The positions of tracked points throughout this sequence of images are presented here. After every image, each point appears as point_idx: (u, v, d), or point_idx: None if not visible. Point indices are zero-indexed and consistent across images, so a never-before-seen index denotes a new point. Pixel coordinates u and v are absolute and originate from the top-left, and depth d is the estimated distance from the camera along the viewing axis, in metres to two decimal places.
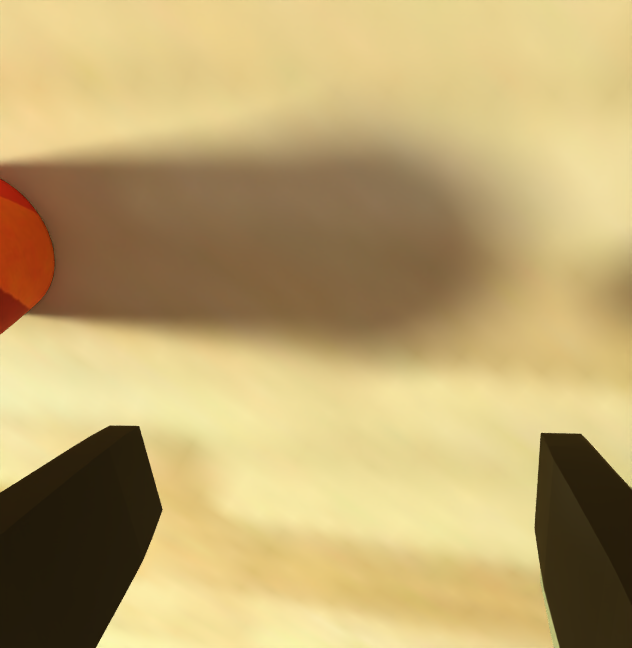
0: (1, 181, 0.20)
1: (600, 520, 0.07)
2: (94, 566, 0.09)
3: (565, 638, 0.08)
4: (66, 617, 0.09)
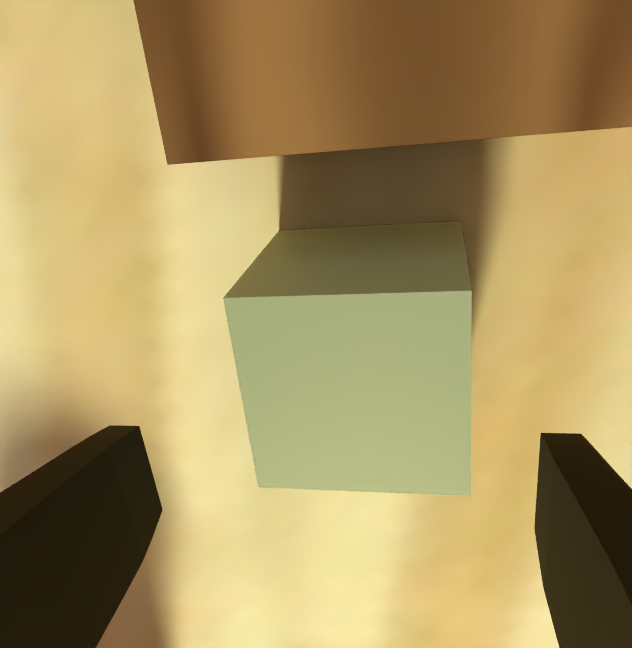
0: None
1: (600, 520, 0.07)
2: (94, 566, 0.09)
3: (565, 638, 0.08)
4: (66, 616, 0.09)
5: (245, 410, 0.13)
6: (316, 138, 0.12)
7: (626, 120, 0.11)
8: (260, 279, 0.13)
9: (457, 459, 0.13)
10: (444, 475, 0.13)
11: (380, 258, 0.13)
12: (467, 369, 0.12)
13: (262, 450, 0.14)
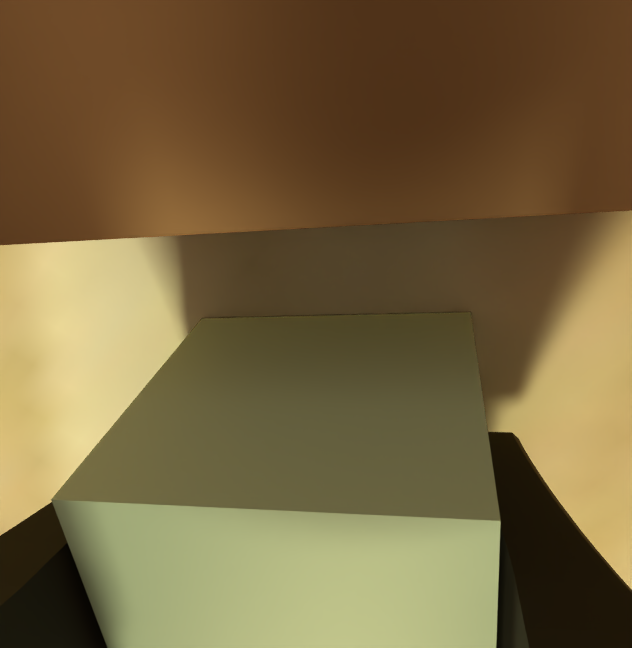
0: None
1: (509, 516, 0.07)
2: None
3: None
4: None
5: None
6: (221, 209, 0.07)
7: None
8: (132, 446, 0.08)
9: None
10: None
11: (339, 400, 0.08)
12: (489, 638, 0.06)
13: None
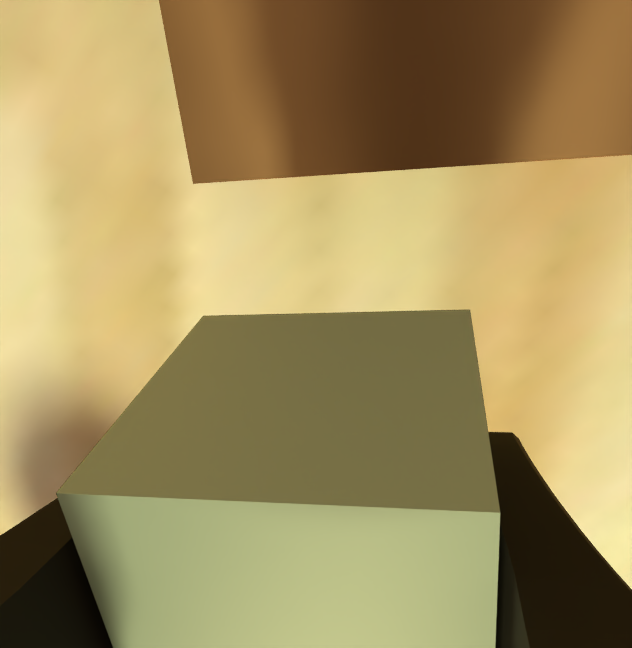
0: None
1: (509, 516, 0.07)
2: None
3: None
4: None
5: None
6: (324, 162, 0.14)
7: (593, 151, 0.13)
8: (135, 441, 0.08)
9: None
10: None
11: (341, 396, 0.08)
12: (488, 629, 0.07)
13: None
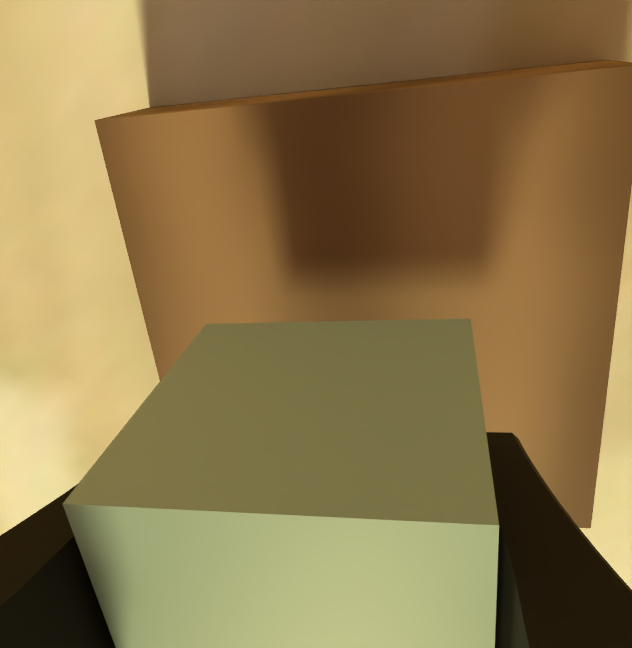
0: None
1: (509, 516, 0.07)
2: None
3: None
4: None
5: None
6: None
7: None
8: (140, 451, 0.08)
9: None
10: None
11: (342, 406, 0.08)
12: (488, 638, 0.07)
13: None
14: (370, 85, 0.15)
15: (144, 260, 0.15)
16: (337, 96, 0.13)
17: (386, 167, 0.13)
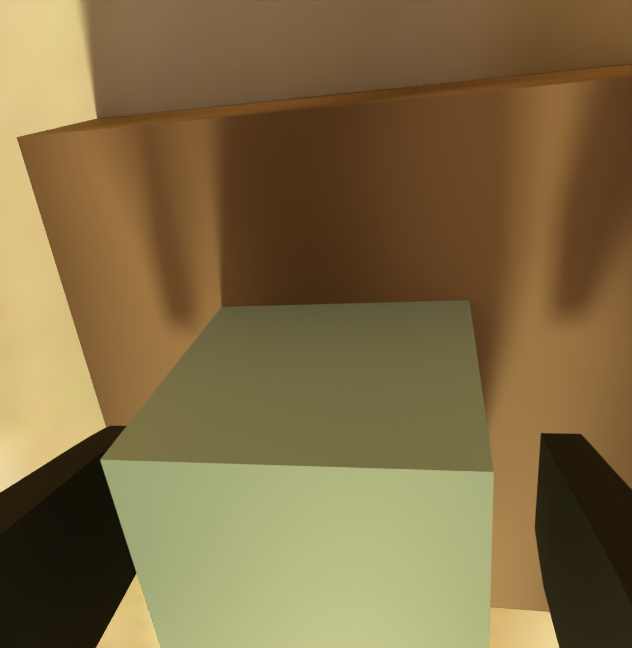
0: None
1: (600, 520, 0.07)
2: (94, 566, 0.09)
3: (565, 638, 0.08)
4: (66, 616, 0.09)
5: (150, 605, 0.09)
6: None
7: (505, 606, 0.14)
8: (167, 416, 0.08)
9: None
10: None
11: (351, 377, 0.09)
12: (484, 579, 0.07)
13: None
14: (356, 93, 0.12)
15: (85, 303, 0.13)
16: (312, 109, 0.10)
17: (374, 197, 0.11)
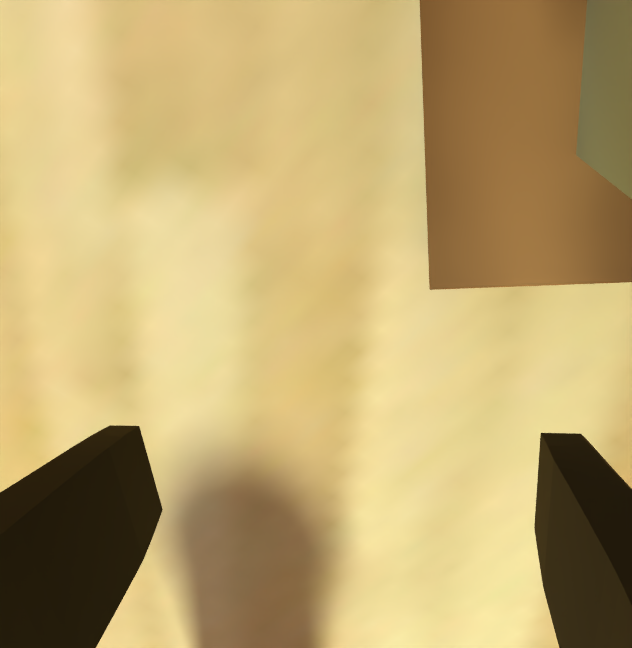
0: None
1: (600, 520, 0.07)
2: (94, 566, 0.09)
3: (565, 638, 0.08)
4: (66, 617, 0.09)
5: None
6: (563, 274, 0.15)
7: None
8: None
9: None
10: None
11: None
12: None
13: None
14: None
15: None
16: None
17: None
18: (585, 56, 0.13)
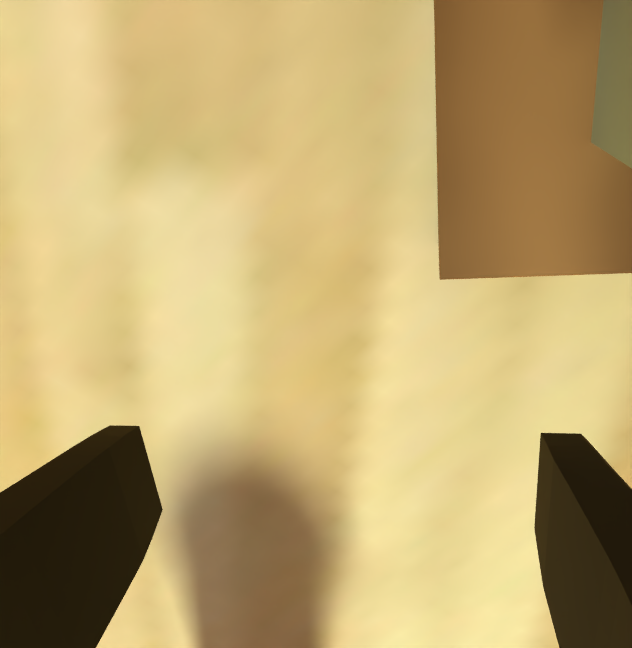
0: None
1: (600, 520, 0.07)
2: (94, 566, 0.09)
3: (565, 638, 0.08)
4: (66, 617, 0.09)
5: None
6: (576, 264, 0.15)
7: None
8: None
9: None
10: None
11: None
12: None
13: None
14: None
15: None
16: None
17: None
18: (602, 40, 0.13)
